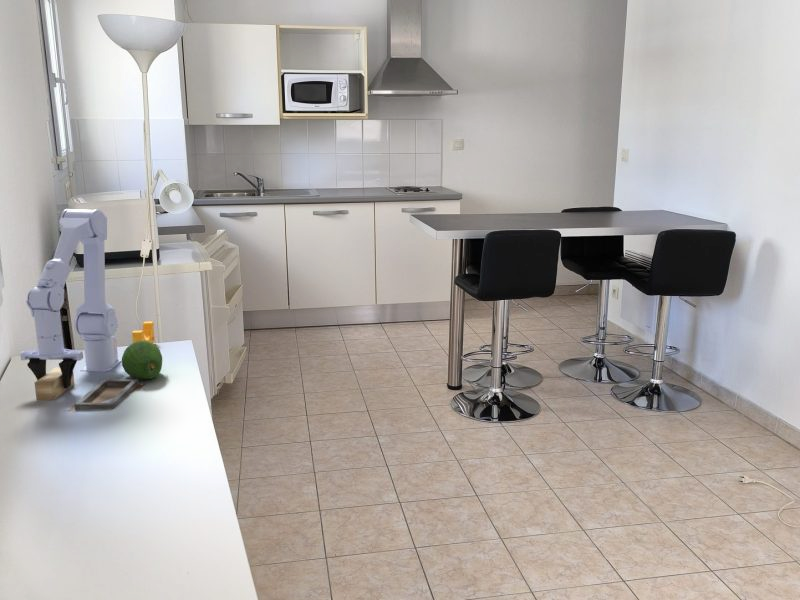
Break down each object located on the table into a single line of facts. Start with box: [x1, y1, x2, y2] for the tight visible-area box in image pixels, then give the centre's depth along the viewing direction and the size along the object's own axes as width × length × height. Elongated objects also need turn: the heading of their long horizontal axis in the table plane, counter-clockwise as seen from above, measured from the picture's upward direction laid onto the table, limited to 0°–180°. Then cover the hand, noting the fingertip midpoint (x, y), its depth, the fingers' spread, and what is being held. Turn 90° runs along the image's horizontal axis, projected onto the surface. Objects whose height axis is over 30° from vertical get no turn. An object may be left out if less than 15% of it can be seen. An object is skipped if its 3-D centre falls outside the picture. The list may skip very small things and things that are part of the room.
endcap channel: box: [67, 378, 146, 412], centre depth 175 cm, size 18×12×2 cm
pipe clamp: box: [131, 320, 156, 344], centre depth 216 cm, size 12×4×6 cm, turn 2°
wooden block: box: [34, 365, 75, 401], centre depth 179 cm, size 12×4×5 cm, turn 1°
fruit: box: [121, 341, 163, 381], centre depth 188 cm, size 15×10×10 cm, turn 29°
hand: (55, 386), depth 180 cm, fingers open, 5 cm apart
